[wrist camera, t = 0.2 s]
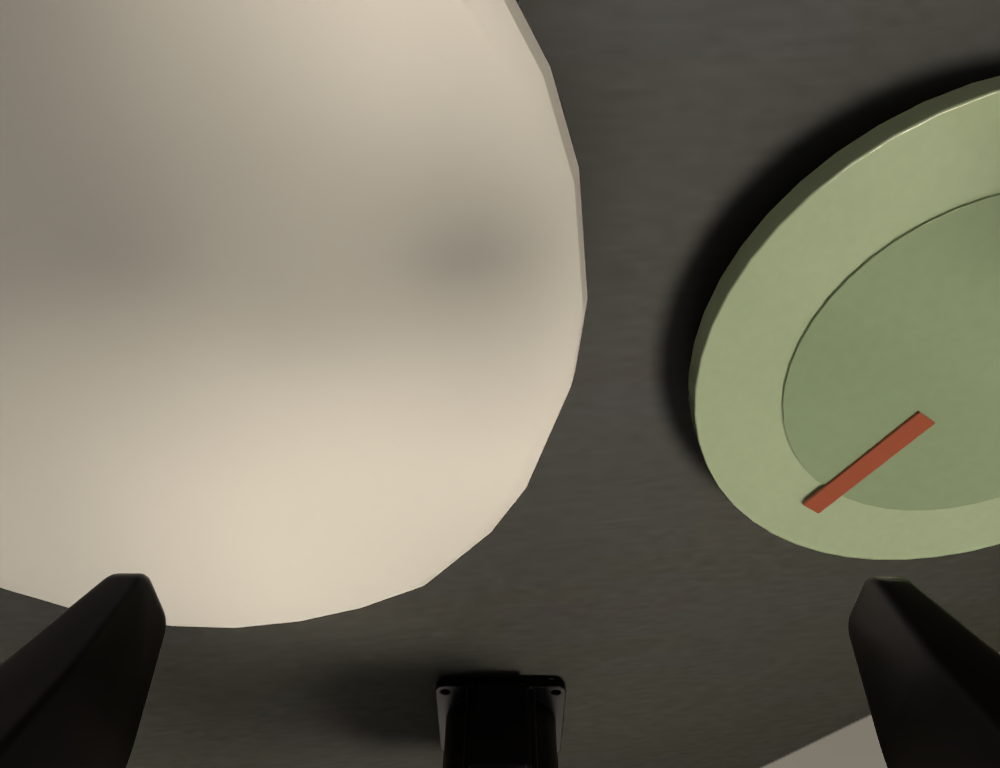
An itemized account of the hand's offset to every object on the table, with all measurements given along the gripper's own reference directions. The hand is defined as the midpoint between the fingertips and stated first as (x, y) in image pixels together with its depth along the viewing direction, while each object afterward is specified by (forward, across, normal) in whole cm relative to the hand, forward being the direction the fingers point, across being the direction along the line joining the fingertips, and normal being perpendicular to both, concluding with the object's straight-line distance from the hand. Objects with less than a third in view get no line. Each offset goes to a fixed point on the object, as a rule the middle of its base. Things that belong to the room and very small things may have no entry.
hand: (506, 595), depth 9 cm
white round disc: (+15, +11, +2) cm, 19 cm away
